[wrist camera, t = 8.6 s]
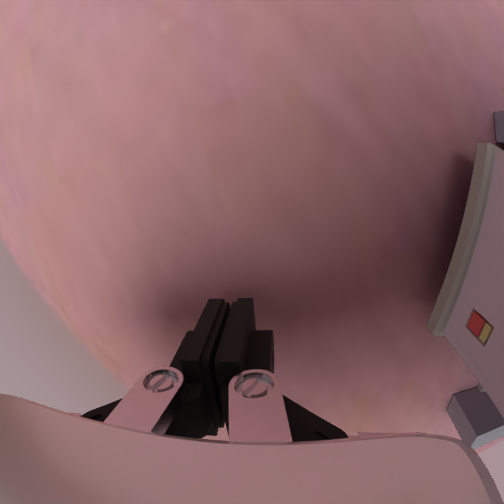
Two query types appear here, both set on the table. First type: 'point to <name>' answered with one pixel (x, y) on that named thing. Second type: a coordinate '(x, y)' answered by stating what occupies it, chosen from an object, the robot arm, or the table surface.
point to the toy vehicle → (478, 279)
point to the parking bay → (473, 401)
